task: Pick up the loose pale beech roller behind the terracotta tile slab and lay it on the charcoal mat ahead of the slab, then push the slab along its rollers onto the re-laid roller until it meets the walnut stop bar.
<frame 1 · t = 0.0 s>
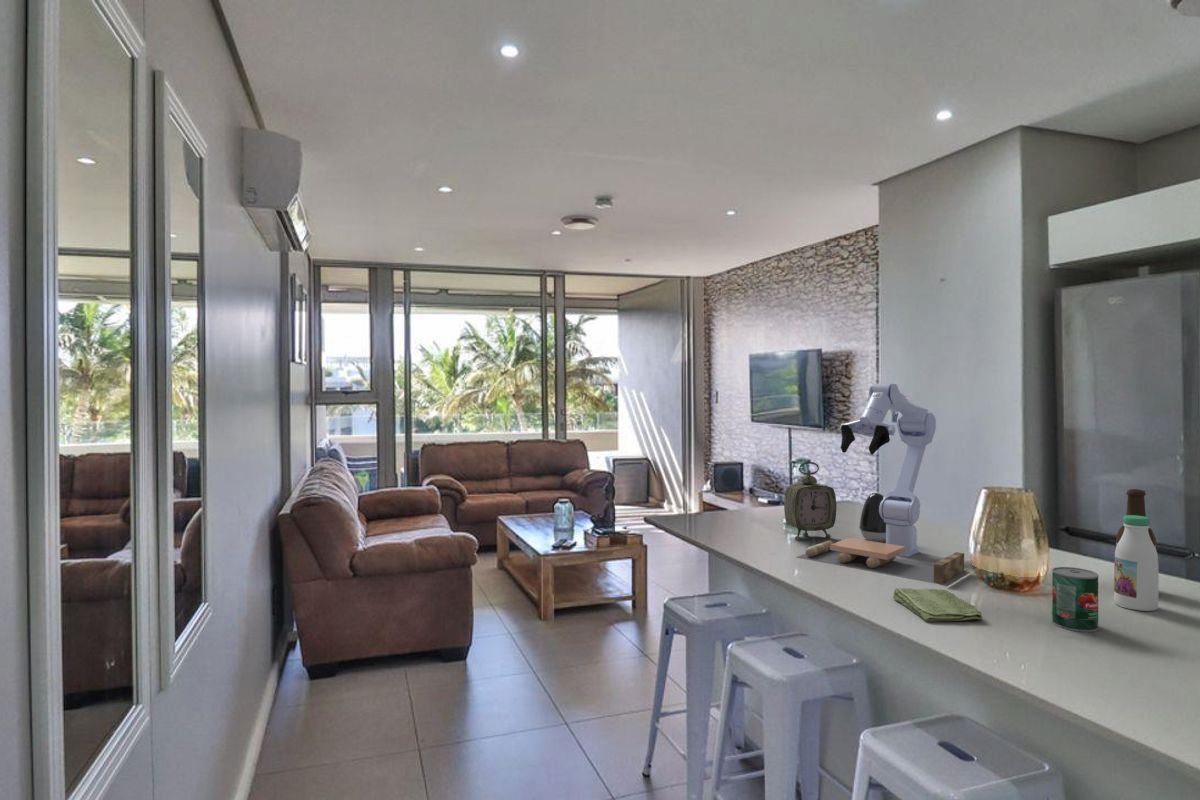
hand: (856, 450, 182), 32 cm above the worktop, tool tilted 50°, fingers open, 7 cm apart
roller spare: (820, 553, 201), resting on mat
beer bottle: (1135, 590, 164), on the worktop
washcloth: (935, 612, 152), on the worktop
roller front: (881, 564, 188), resting on mat, touching slab
tabletop clock: (808, 539, 222), on the worktop
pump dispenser: (876, 540, 219), on the worktop
canned tomato: (1074, 626, 141), on the worktop
stop bar: (949, 577, 176), resting on mat
slab: (867, 550, 191), point 3 cm above the worktop, touching roller front, roller rear
milk bottle: (1135, 607, 152), on the worktop
mat: (878, 564, 189), on the worktop
roller rear: (853, 559, 194), resting on mat, touching slab
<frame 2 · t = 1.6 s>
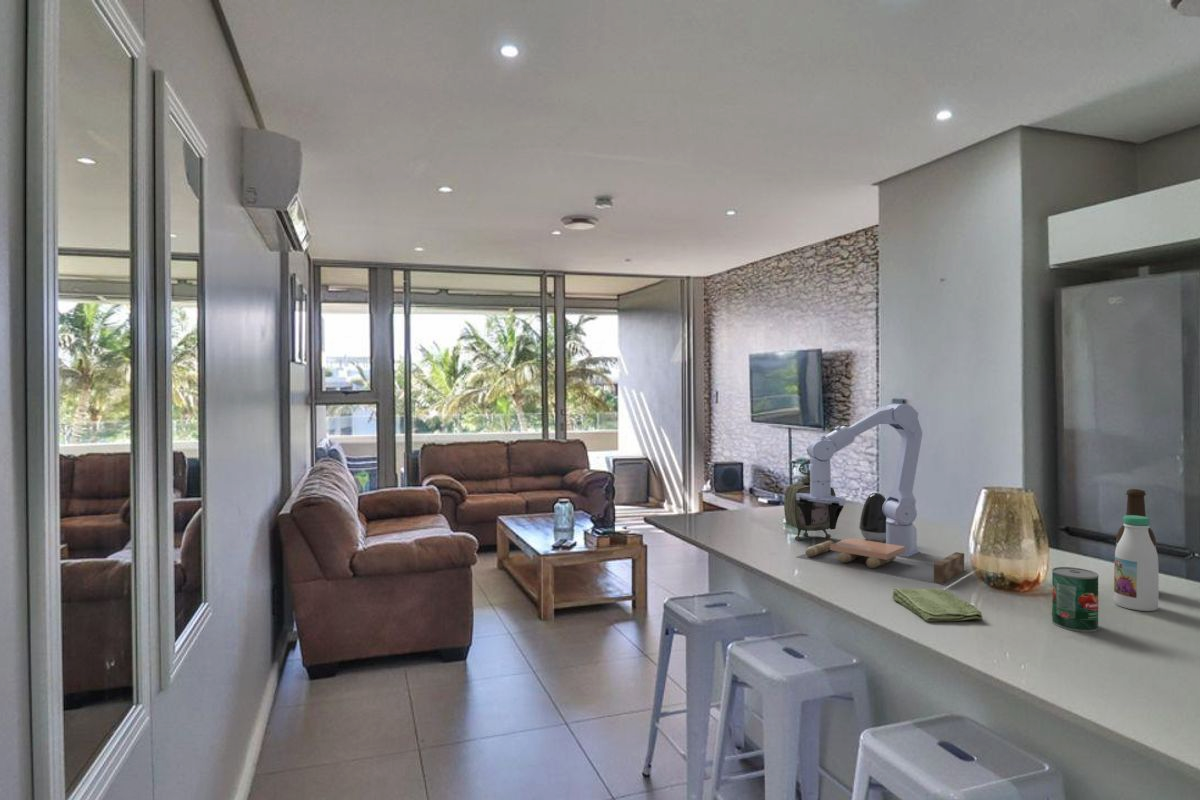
hand: (820, 527, 201), 8 cm above the worktop, tool pointing down, fingers open, 7 cm apart
nothing on the worktop moved.
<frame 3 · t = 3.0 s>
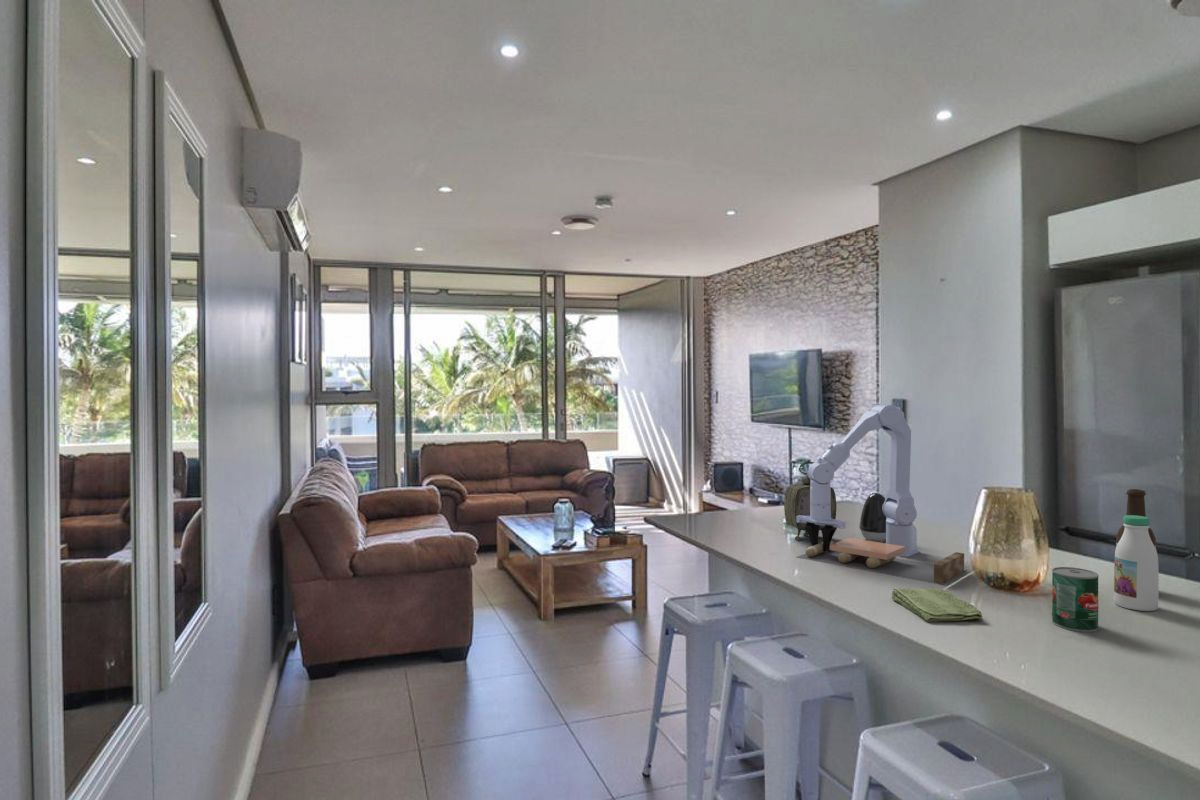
hand: (820, 549, 201), 1 cm above the worktop, tool pointing down, fingers closed on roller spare, 3 cm apart
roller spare: (820, 553, 201), resting on mat, touching gripper
everything else where it was.
when the fingers open (2 cm above the worktop, at t = 7.5 s): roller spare stays where it is, resting on mat.
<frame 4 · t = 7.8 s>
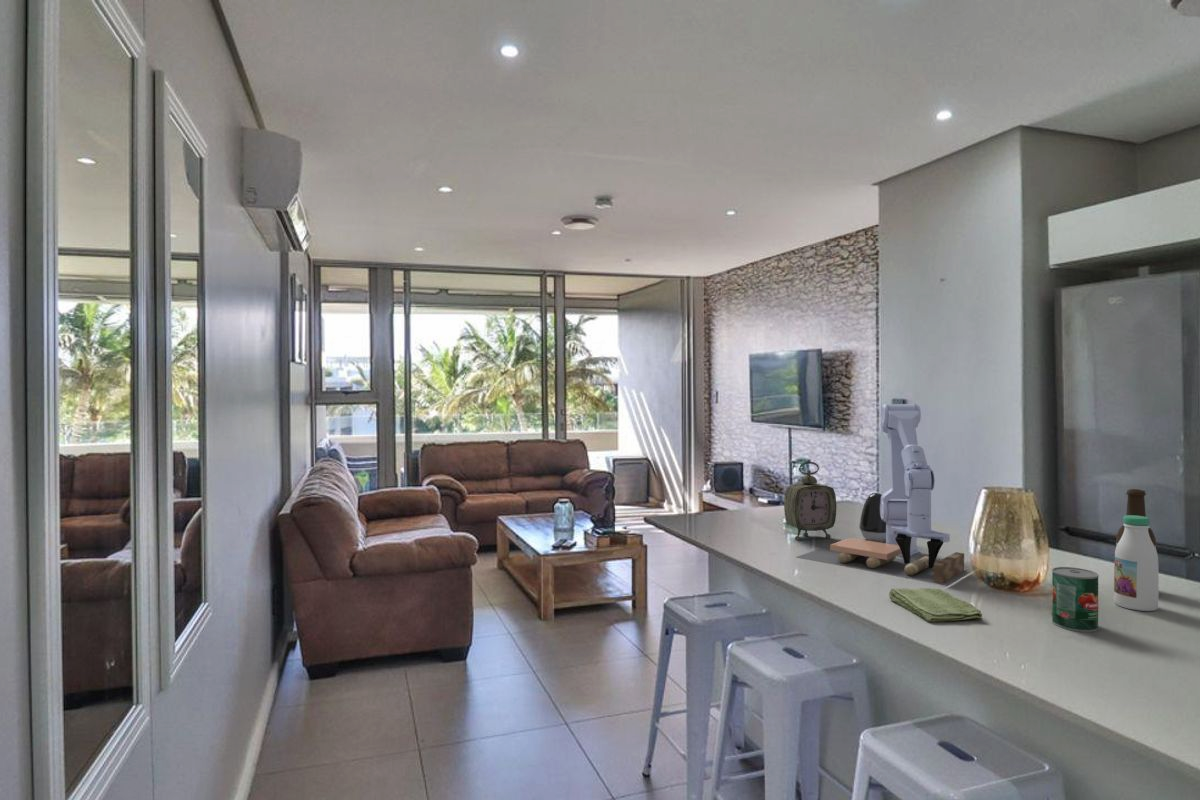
hand: (919, 565, 181), 2 cm above the worktop, tool pointing down, fingers open, 6 cm apart
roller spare: (918, 570, 181), resting on mat, tilted 6°
everything else where it was.
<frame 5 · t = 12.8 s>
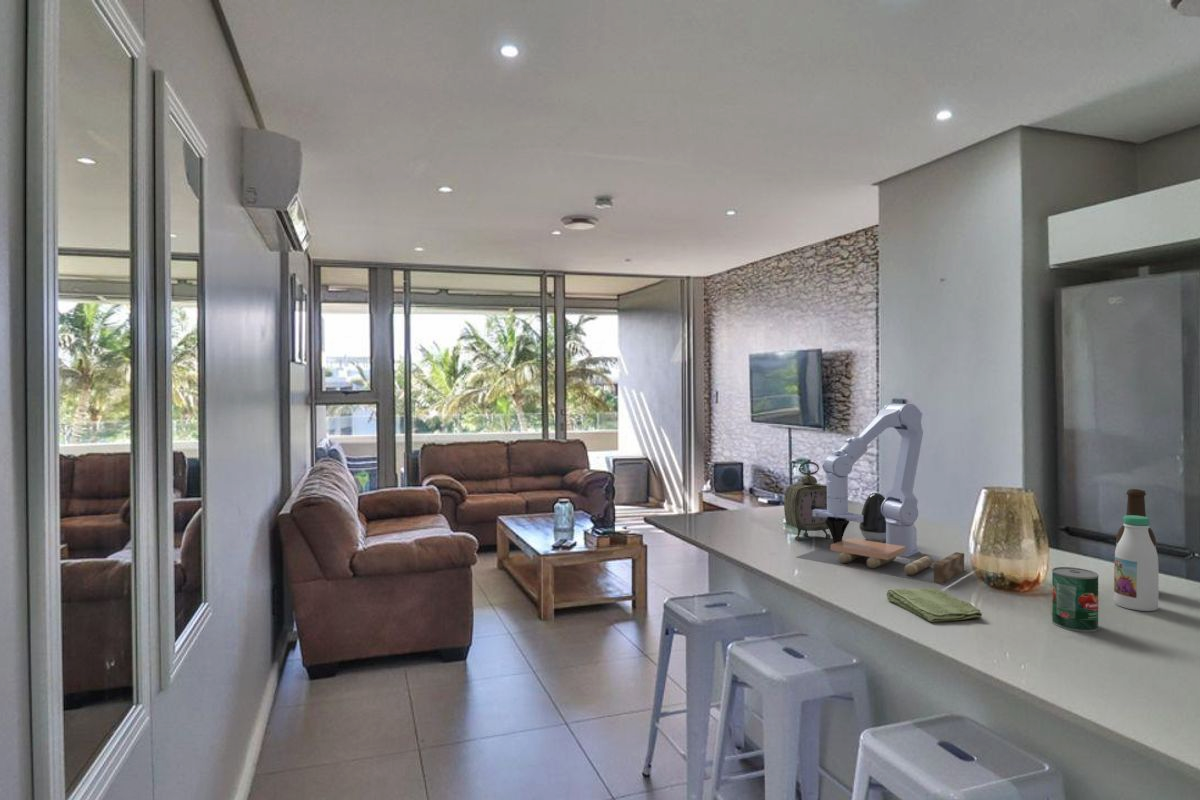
hand: (837, 544, 197), 4 cm above the worktop, tool pointing down, fingers closed
slab: (867, 550, 191), point 3 cm above the worktop, touching gripper, roller front, roller rear
everything else where it was.
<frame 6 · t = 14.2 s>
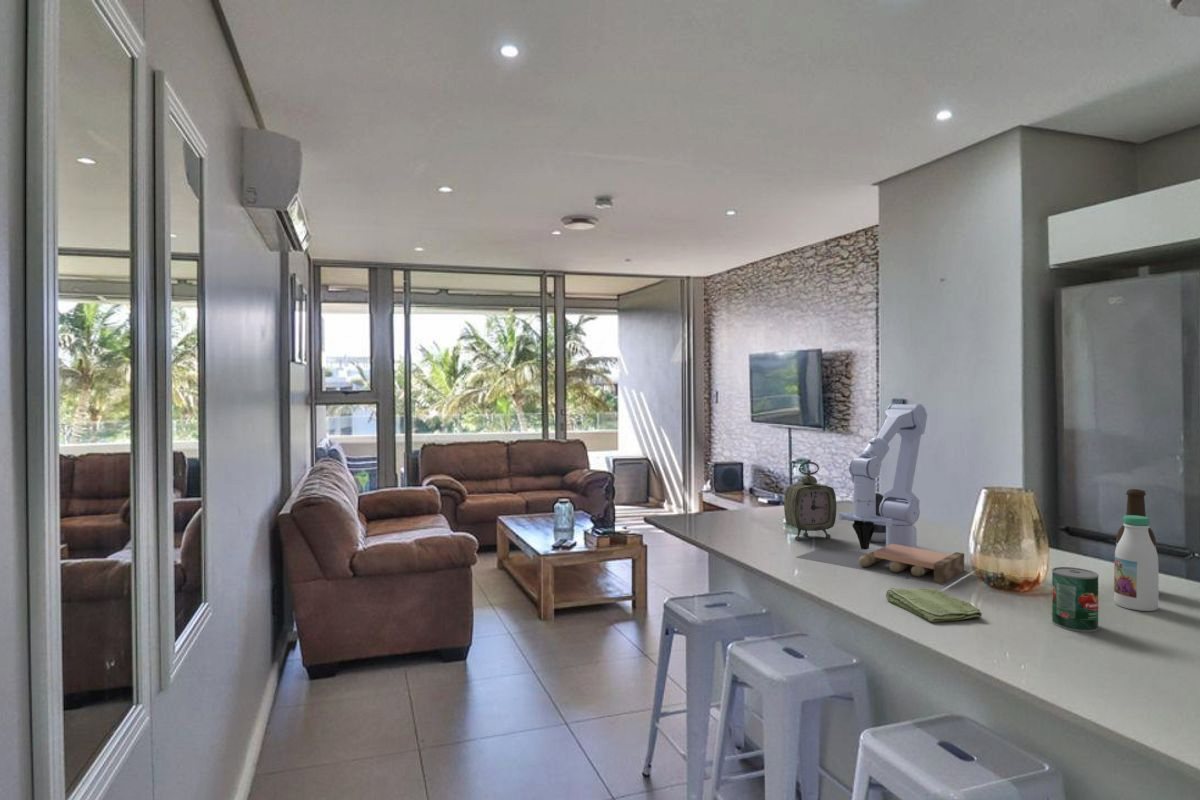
hand: (864, 548, 192), 4 cm above the worktop, tool pointing down, fingers closed
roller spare: (920, 567, 181), point 1 cm above the worktop, tilted 75°, touching mat, slab
roller front: (909, 560, 183), point 3 cm above the worktop, tilted 122°, touching mat, slab
slab: (913, 558, 182), point 3 cm above the worktop, touching roller front, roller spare
roller rear: (877, 554, 189), point 3 cm above the worktop, tilted 134°, touching mat
everything else where it was.
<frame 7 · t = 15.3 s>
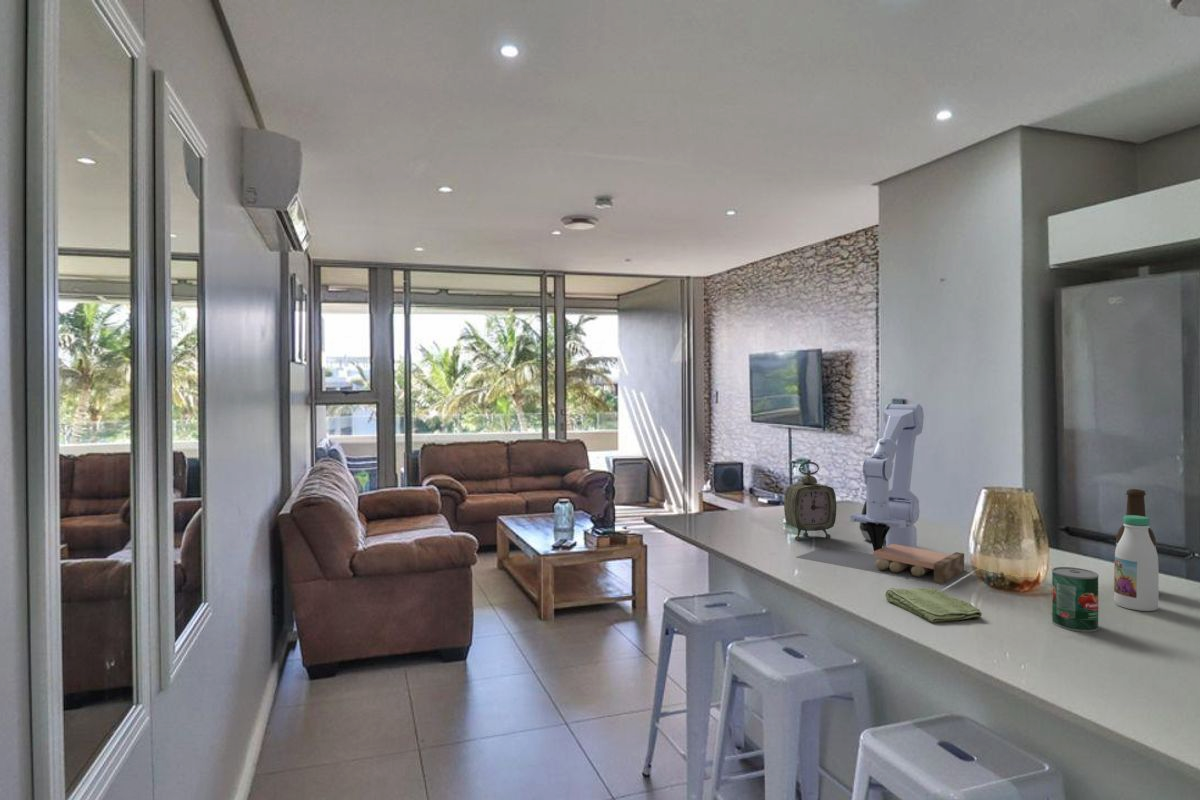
hand: (877, 550, 189), 4 cm above the worktop, tool pointing down, fingers closed
slab: (913, 558, 182), point 3 cm above the worktop, touching roller front, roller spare, stop bar
roller rear: (887, 563, 187), point 1 cm above the worktop, tilted 42°, touching mat
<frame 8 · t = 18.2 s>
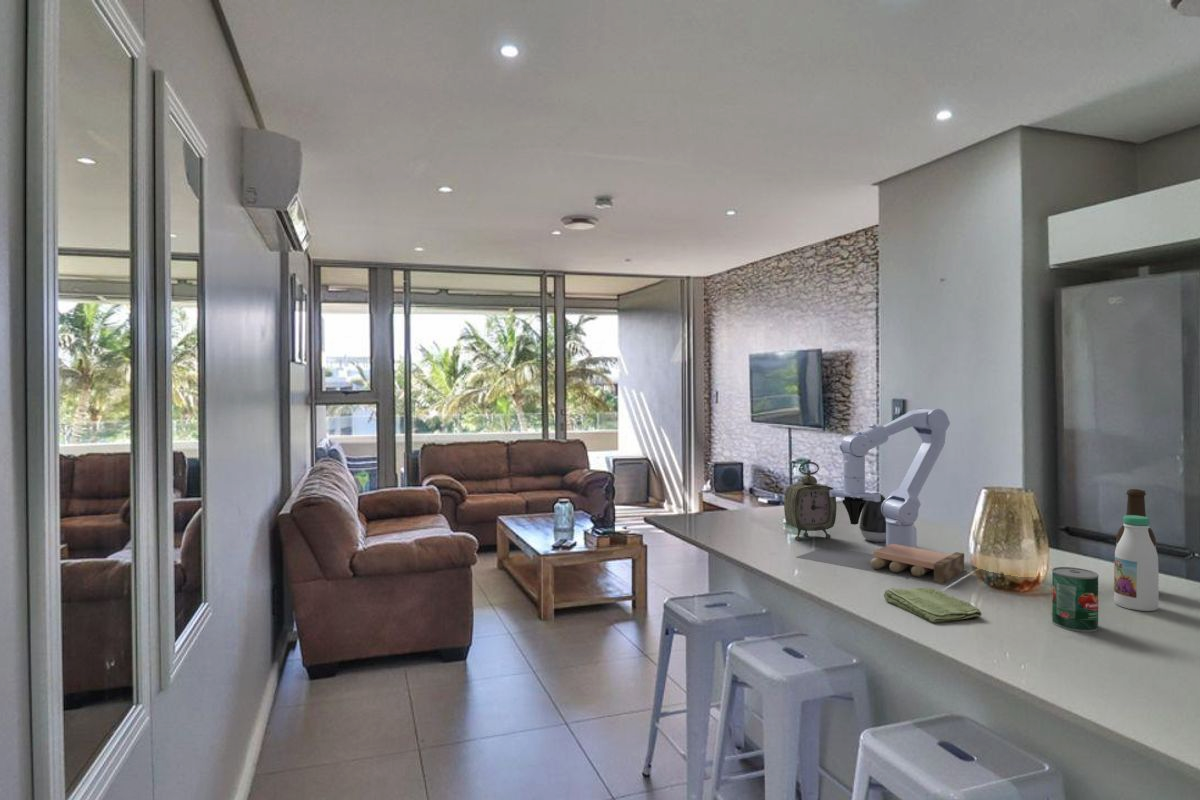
hand: (854, 523, 199), 9 cm above the worktop, tool pointing down, fingers closed
roller rear: (886, 564, 187), resting on mat, tilted 9°
at the end: slab inside the target area (0.2 cm from its centre), point 3.3 cm above the worktop; slab tilted 2°; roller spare moved 28.3 cm from its start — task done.
